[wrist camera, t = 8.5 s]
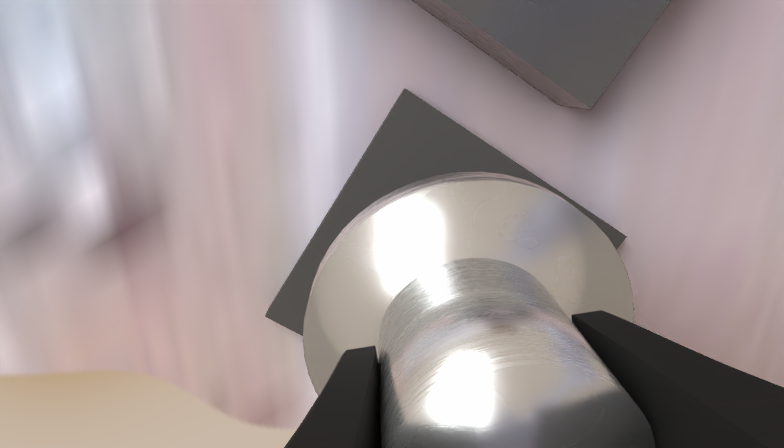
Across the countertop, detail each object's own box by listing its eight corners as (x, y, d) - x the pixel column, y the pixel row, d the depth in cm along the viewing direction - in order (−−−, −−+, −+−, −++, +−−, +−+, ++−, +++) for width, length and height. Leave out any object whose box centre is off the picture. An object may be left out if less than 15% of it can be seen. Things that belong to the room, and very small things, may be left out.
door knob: (635, 248, 12) (870, 412, 6) (476, 430, 14) (549, 683, 8) (415, 96, 11) (468, 137, 5) (268, 323, 12) (181, 547, 7)
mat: (618, 231, 14) (627, 236, 14) (471, 414, 16) (473, 424, 16) (404, 88, 13) (405, 89, 12) (268, 308, 15) (264, 316, 14)
